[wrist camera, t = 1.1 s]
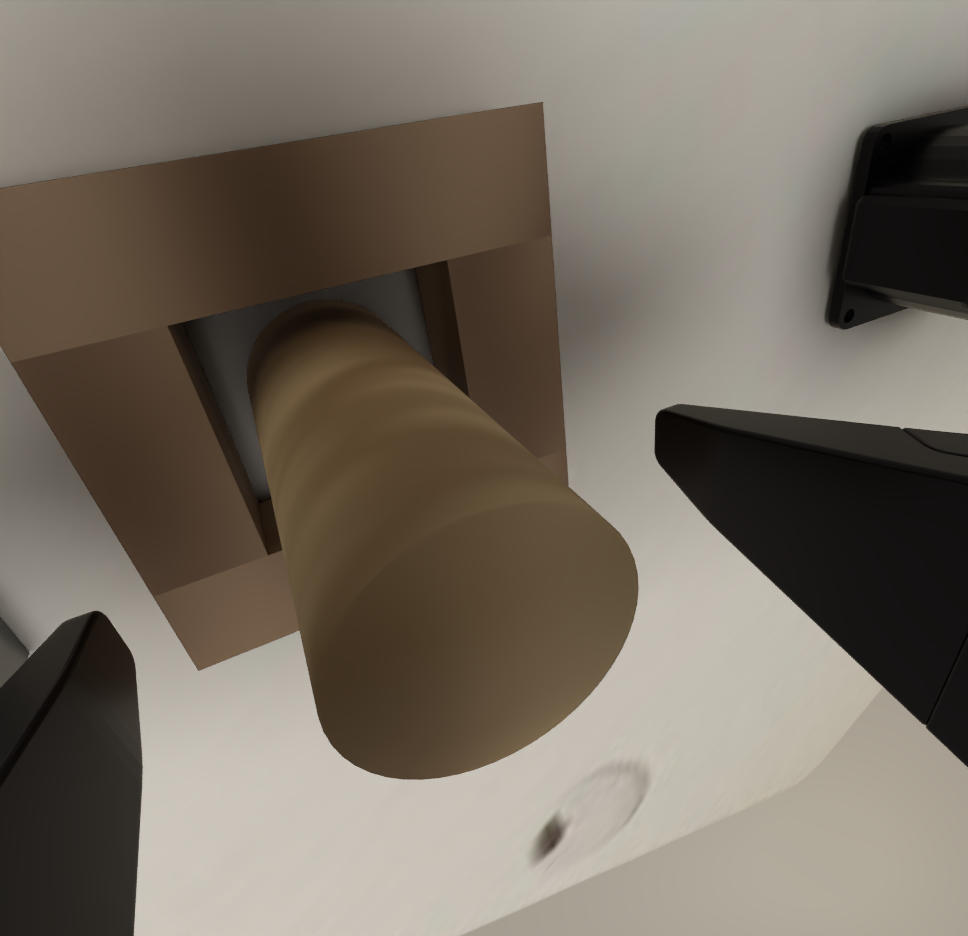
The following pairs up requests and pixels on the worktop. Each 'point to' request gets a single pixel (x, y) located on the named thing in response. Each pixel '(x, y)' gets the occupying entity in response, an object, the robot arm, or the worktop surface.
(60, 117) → the worktop surface
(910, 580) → the robot arm
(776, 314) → the worktop surface
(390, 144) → the square wooden frame
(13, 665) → the tray
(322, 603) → the dowel
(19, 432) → the worktop surface
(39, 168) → the worktop surface
